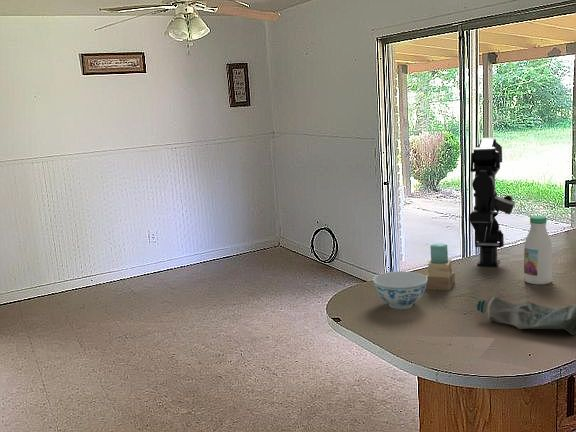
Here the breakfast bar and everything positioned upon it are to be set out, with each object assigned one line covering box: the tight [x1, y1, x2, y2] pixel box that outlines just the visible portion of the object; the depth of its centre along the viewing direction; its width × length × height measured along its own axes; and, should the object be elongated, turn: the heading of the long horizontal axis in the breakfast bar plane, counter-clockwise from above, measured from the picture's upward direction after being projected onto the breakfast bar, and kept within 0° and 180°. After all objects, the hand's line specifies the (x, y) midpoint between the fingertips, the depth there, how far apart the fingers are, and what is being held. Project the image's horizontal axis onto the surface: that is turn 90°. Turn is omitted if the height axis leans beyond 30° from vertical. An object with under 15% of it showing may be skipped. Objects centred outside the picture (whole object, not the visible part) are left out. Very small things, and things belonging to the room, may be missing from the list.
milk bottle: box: [523, 215, 553, 285], centre depth 183 cm, size 8×8×20 cm
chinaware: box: [372, 270, 428, 310], centre depth 171 cm, size 15×15×8 cm
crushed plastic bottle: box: [476, 296, 576, 336], centre depth 151 cm, size 13×7×25 cm
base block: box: [424, 271, 456, 292], centre depth 186 cm, size 8×8×4 cm
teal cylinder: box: [429, 243, 449, 264], centre depth 185 cm, size 5×5×5 cm
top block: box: [427, 258, 453, 278], centre depth 185 cm, size 6×6×4 cm
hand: (485, 238), depth 187 cm, fingers open, 9 cm apart
